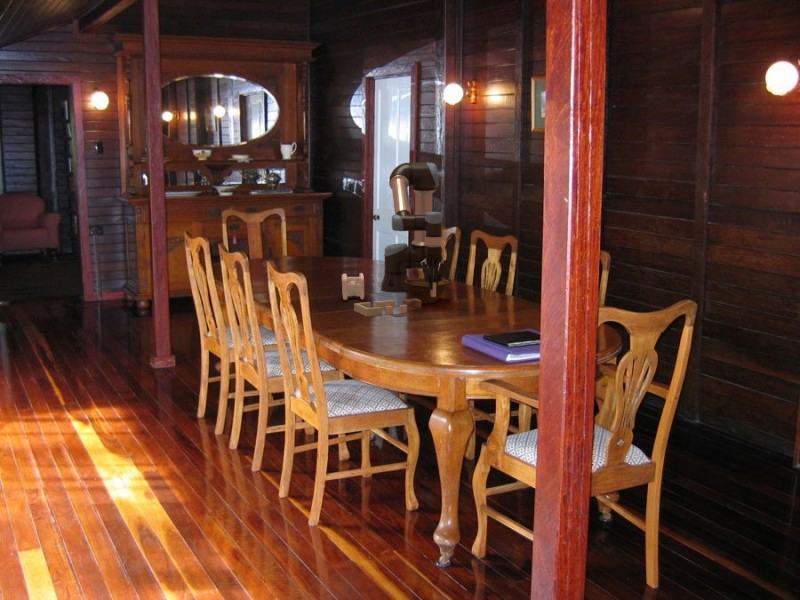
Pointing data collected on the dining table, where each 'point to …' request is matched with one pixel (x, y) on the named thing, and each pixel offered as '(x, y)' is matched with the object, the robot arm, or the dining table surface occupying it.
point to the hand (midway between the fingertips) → (433, 296)
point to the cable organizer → (353, 286)
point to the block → (412, 304)
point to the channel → (390, 306)
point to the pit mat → (400, 315)
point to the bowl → (425, 289)
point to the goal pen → (367, 309)
